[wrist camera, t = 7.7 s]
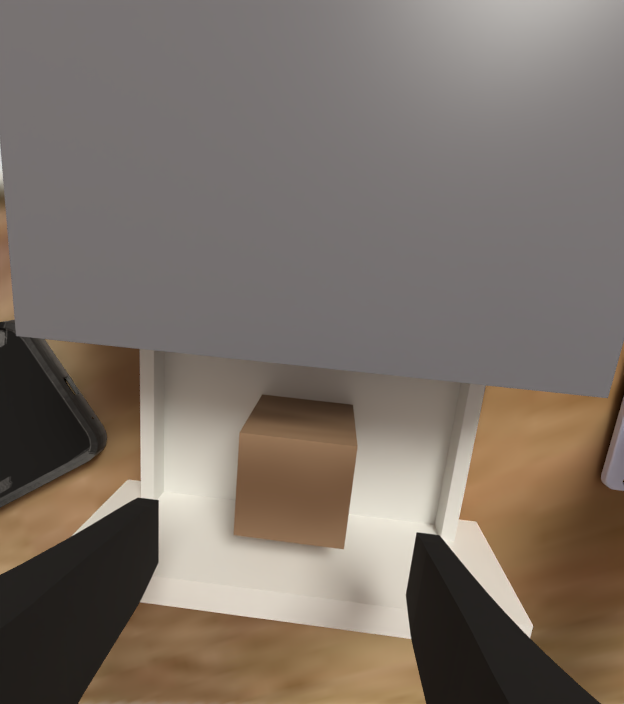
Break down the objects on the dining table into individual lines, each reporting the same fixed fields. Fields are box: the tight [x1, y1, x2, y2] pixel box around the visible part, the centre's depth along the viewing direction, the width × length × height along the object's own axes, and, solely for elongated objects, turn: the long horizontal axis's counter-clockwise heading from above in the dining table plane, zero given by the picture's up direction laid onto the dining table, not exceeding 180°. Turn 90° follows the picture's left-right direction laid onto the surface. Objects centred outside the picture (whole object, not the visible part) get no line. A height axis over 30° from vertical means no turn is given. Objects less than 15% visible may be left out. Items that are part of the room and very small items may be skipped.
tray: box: [72, 349, 533, 639], centre depth 14 cm, size 16×17×5 cm
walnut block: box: [234, 394, 358, 549], centre depth 15 cm, size 4×4×4 cm
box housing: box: [0, 0, 624, 398], centre depth 12 cm, size 16×17×7 cm
